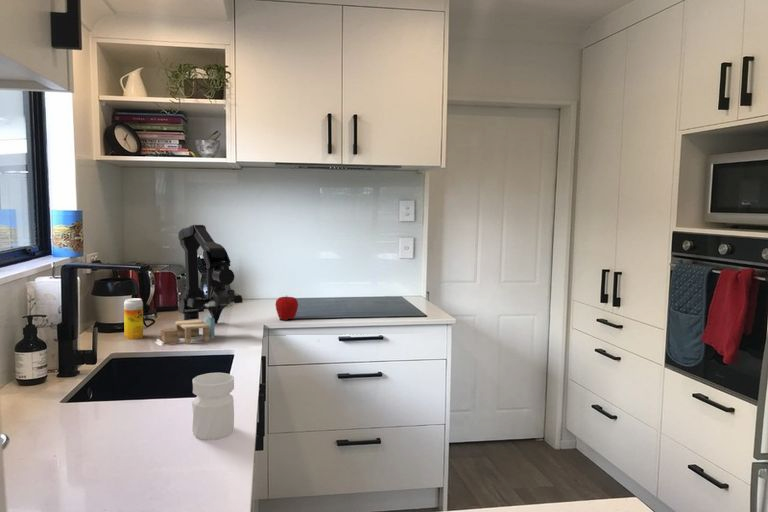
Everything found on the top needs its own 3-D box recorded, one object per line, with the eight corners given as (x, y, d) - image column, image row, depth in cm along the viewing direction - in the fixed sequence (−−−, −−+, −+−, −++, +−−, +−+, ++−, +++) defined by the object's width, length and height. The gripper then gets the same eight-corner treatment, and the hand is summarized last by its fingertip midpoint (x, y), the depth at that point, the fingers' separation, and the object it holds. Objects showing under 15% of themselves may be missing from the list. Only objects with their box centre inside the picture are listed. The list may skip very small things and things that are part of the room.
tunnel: (175, 340, 193) (175, 321, 192) (197, 338, 198) (197, 318, 197) (186, 348, 184) (186, 327, 183) (209, 344, 189) (209, 324, 188)
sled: (154, 344, 186) (154, 322, 185) (208, 337, 198) (208, 316, 197) (159, 348, 181) (159, 325, 180) (214, 340, 193) (214, 319, 192)
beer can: (135, 343, 188) (135, 301, 187) (120, 342, 189) (120, 300, 188) (146, 339, 194) (146, 298, 193) (132, 338, 195) (131, 297, 194)
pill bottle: (214, 420, 123) (214, 370, 122) (242, 429, 119) (242, 377, 118) (183, 434, 116) (183, 380, 115) (211, 444, 112) (211, 388, 110)
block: (160, 341, 186) (160, 328, 186) (173, 339, 189) (173, 327, 189) (164, 344, 183) (164, 331, 182) (177, 342, 185) (177, 329, 185)
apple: (281, 323, 227) (281, 297, 226) (271, 319, 234) (271, 294, 233) (302, 320, 233) (302, 295, 232) (291, 316, 240) (291, 292, 239)
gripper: (197, 286, 182) (198, 331, 184) (248, 282, 194) (249, 324, 195) (186, 282, 191) (187, 325, 192) (236, 278, 203) (236, 319, 204)
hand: (215, 323), depth 196 cm, fingers closed
